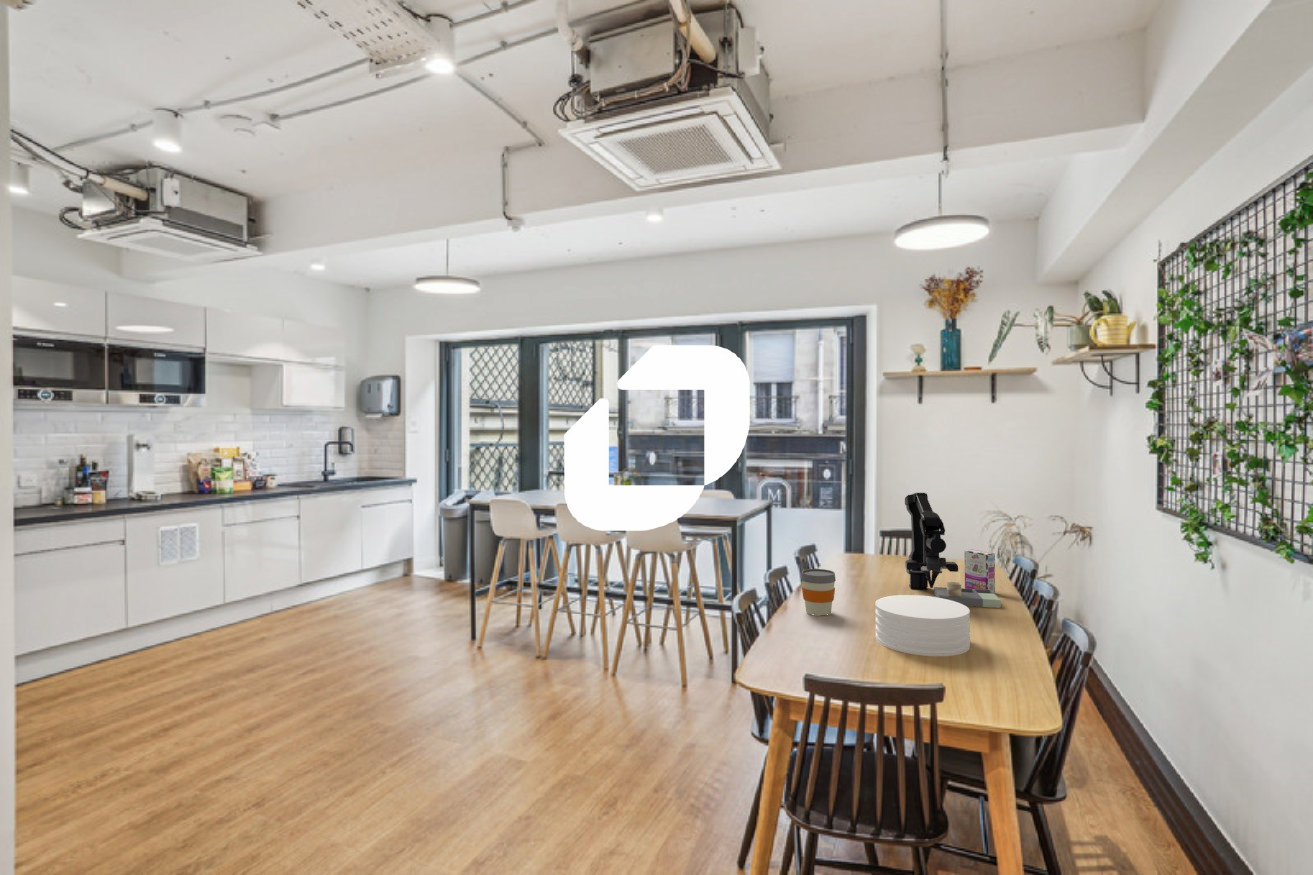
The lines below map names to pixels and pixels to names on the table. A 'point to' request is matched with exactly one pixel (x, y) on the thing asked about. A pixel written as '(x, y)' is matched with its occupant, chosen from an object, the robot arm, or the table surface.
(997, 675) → the table surface
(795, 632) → the table surface
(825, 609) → the reusable coffee cup
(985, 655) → the table surface
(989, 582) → the candy bar box
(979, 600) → the trap deck
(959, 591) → the maple block
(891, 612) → the plate stack
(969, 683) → the table surface
